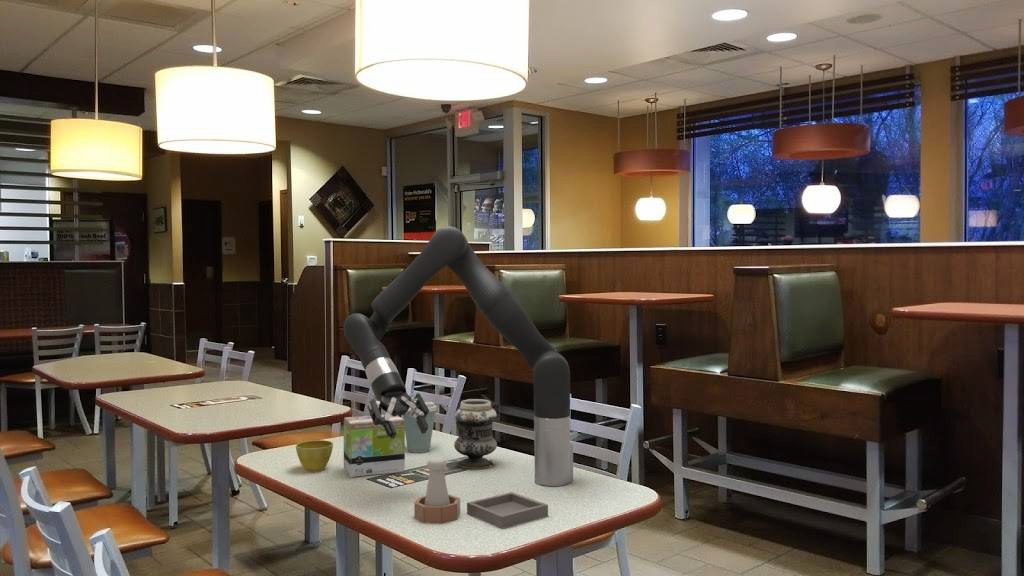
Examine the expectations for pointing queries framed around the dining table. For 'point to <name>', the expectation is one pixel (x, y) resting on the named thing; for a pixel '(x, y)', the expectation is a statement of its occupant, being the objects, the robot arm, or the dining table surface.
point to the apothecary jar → (475, 433)
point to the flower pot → (314, 454)
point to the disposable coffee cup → (413, 434)
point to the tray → (507, 509)
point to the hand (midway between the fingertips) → (409, 434)
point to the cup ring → (437, 511)
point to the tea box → (373, 447)
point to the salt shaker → (436, 483)
